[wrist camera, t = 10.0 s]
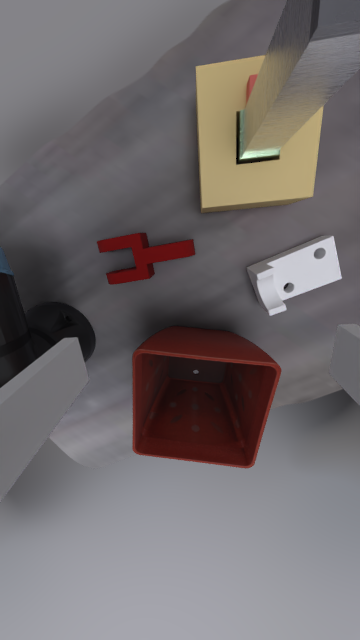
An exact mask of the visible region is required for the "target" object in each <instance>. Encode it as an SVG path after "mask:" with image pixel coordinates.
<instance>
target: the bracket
mask: <svg viewBox="0 0 360 640" xmlns="http://www.w3.org/2000/svg"><path fill="white" fill-rule="evenodd" d="M314 252H315V254H314ZM246 268H247V271H248V274H249V277H250V280H251V283H252V286H253V287H254V290H255V293H256V296H257V299H258V302H259V304H260V305H261V306H262V307H263V309H264V310H265V311H266V312H267V313H268V314H269V315H270V316H271V315H274V314H276V313H279V312H282V311H285V310H287V309H286V306H285V304H284V303H283V302H282V301H283V300H285V299H288V298H291V297H293V296H296V295H299V294H301V293H304V292H307V291H309V290H312V289H315V288H318V287H320V286H323V285H326V284H328V283H331V282H334V281H336V280H339V279H342V277H341V272H340V267H339V262H338V257H337V252H336V247H335V242H334V237H333V236H320V237H318V238H316V239H313V240H311V241H308V242H306V243H304V244H301V245H299V246H296V247H294V248H292V249H289V250H287V251H284V252H282V253H280V254H277V255H275V256H272V257H270V258H268V259H265V260H263V261H261V262H258V263H256V264H253V265H251V266H249V267H246ZM287 283H288V287H287V288H285V289H284V285H285V284H287Z"/></svg>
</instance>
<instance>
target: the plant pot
mask: <svg viewBox="0 0 360 640" xmlns="http://www.w3.org/2000/svg"><path fill="white" fill-rule="evenodd" d="M197 359H199V360H197ZM132 366H133V451H134V452H135V453H136V454H139V455H145V456H153V457H161V458H169V459H178V460H185V461H193V462H202V463H209V464H216V465H224V466H232V467H239V468H250V467H252V466H253V465H254V464H255V460H256V457H257V453H258V449H259V446H260V442H261V438H262V435H263V432H264V428H265V425H266V421H267V418H268V414H269V411H270V408H271V404H272V401H273V398H274V395H275V391H276V388H277V385H278V382H279V378H280V375H281V368H280V366H279V365H278V364H277V363H276V362H275V361H274V360H273V359H272V358H271V357H270V356H269V355H268V354H267V353H265V352H264V351H263V350H262V349H260V348H259V347H258V346H256V345H255V344H253V343H252V342H250V341H249V340H247V339H245V338H243V337H241V336H239V335H237V334H234V333H232V332H229V331H221V330H211V329H201V328H191V327H181V326H171V327H168V328H166V329H163V330H161V331H159V332H157V333H155V334H154V335H152V336H151V337H150V338H148V339H147V340H146V341H145V342H143V343H142V344H141V345H140V346H139V347H138V348H137V349H136V350H135V352H134V353H133V356H132ZM194 370H198V371H199V374H197V375H195V374H194V373H193V371H194Z"/></svg>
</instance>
